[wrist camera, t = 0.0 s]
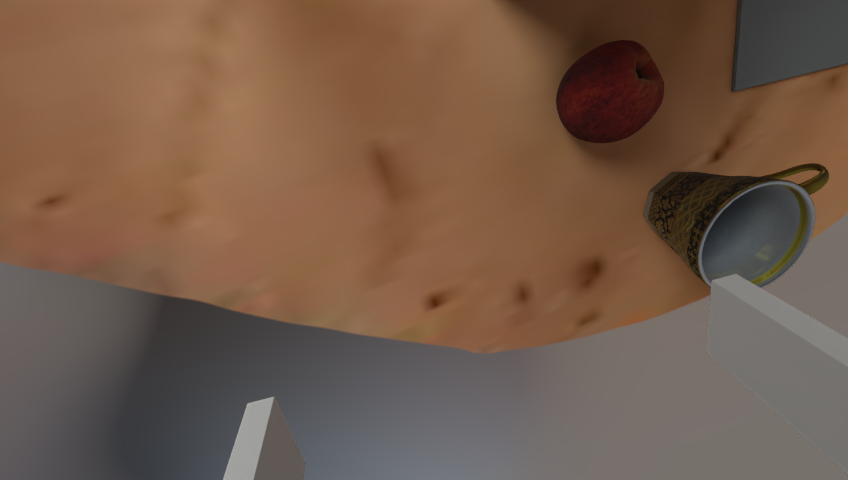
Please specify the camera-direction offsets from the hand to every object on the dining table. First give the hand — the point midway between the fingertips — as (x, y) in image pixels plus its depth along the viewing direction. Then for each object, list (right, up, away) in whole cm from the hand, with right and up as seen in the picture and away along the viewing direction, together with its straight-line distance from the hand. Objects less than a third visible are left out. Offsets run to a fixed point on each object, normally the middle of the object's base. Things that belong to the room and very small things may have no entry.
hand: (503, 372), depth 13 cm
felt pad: (+31, +24, +25) cm, 46 cm away
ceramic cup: (+24, +9, +31) cm, 40 cm away
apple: (+12, +17, +25) cm, 33 cm away
